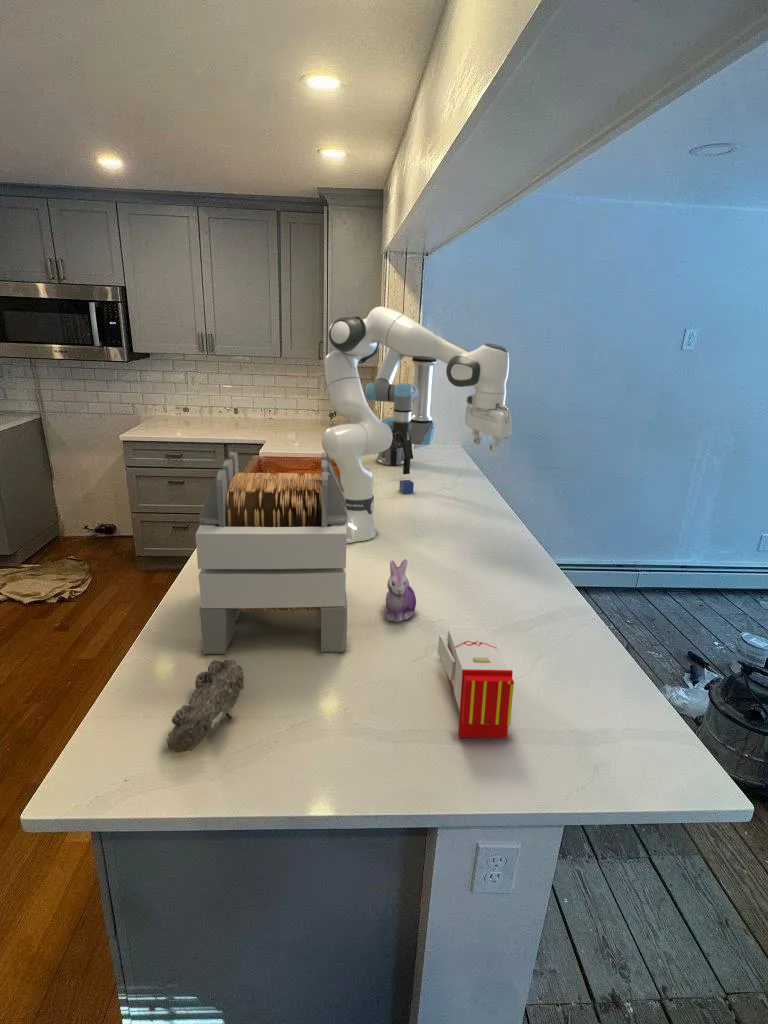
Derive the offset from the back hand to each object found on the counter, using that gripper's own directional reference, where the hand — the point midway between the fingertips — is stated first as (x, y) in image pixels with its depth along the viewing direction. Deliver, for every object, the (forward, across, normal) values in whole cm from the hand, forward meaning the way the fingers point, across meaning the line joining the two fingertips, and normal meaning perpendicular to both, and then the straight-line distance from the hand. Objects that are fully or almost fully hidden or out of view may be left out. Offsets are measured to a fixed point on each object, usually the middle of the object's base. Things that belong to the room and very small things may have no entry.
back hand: (399, 469), depth 246 cm
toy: (+7, -133, +45) cm, 140 cm away
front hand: (-28, -72, +6) cm, 78 cm away
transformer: (+7, -90, +75) cm, 117 cm away
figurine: (+7, -99, +45) cm, 109 cm away
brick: (+9, -5, -1) cm, 10 cm away
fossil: (+7, -122, +95) cm, 155 cm away
